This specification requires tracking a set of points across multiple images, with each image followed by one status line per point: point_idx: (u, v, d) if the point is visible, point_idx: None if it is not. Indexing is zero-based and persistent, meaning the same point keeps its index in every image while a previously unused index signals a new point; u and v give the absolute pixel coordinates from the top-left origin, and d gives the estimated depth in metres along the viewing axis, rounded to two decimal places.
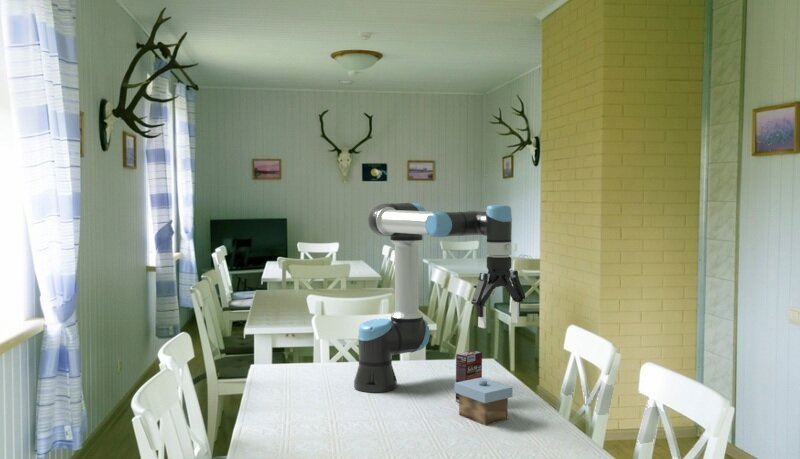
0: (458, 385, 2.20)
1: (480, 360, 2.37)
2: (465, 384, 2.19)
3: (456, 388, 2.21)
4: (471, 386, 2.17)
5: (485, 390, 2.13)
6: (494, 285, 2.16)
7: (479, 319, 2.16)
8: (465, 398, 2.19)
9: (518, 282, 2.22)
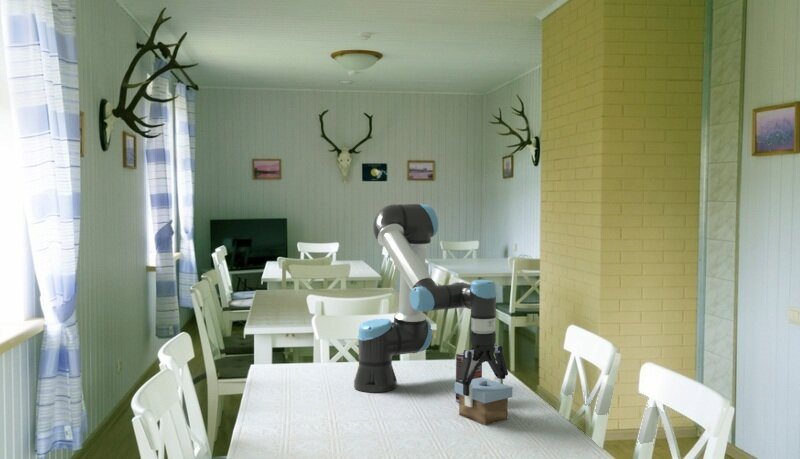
0: (458, 385, 2.20)
1: None
2: None
3: (456, 388, 2.21)
4: None
5: (485, 390, 2.13)
6: (479, 362, 2.15)
7: (466, 398, 2.16)
8: None
9: (502, 358, 2.21)
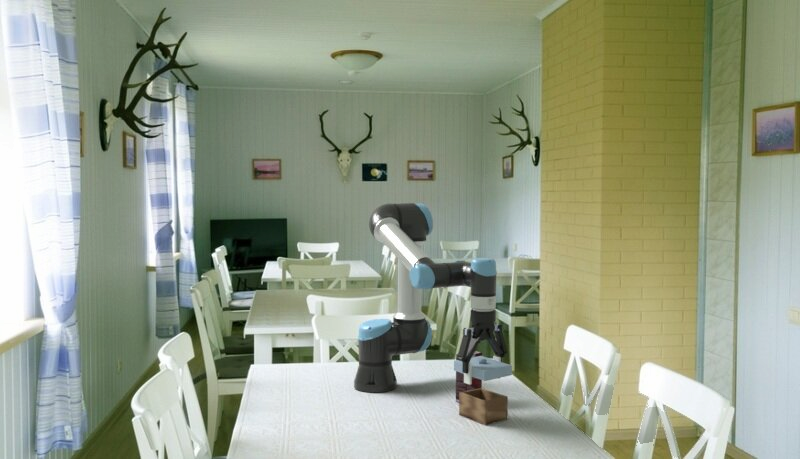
0: (457, 363, 2.20)
1: None
2: None
3: (456, 366, 2.21)
4: None
5: (484, 368, 2.13)
6: (478, 340, 2.15)
7: (465, 375, 2.16)
8: (465, 398, 2.19)
9: (501, 336, 2.21)
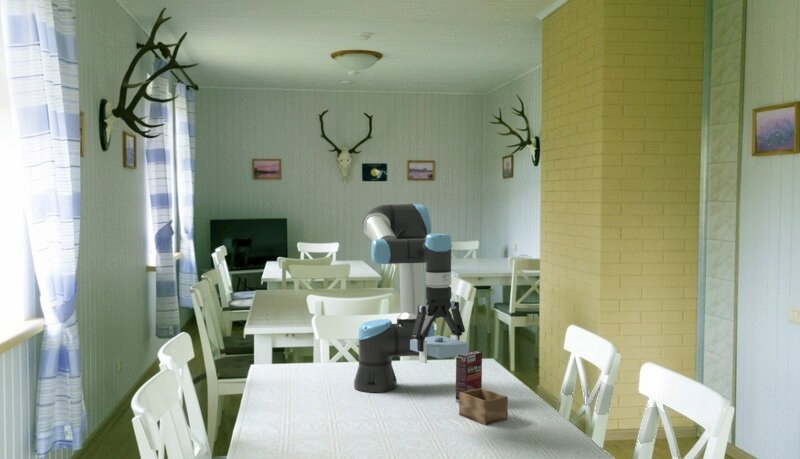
0: (413, 342, 2.14)
1: (480, 360, 2.37)
2: None
3: (412, 345, 2.15)
4: None
5: (439, 345, 2.07)
6: (433, 317, 2.10)
7: (420, 354, 2.10)
8: (465, 398, 2.19)
9: (458, 314, 2.16)
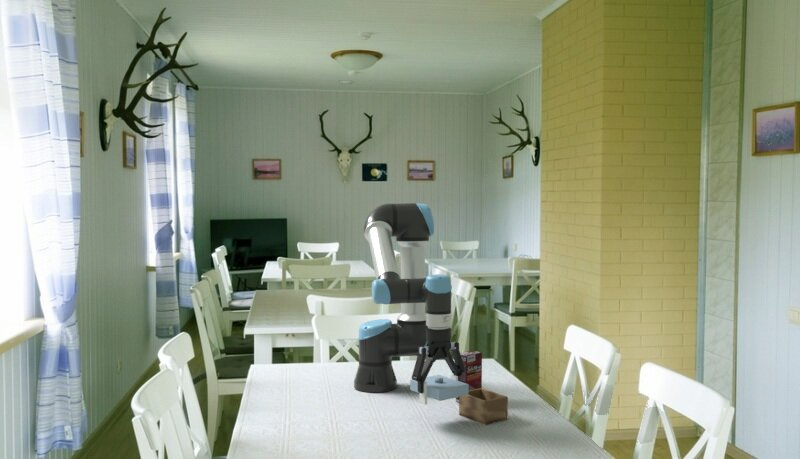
0: (413, 382, 2.15)
1: (480, 360, 2.37)
2: None
3: (412, 385, 2.16)
4: None
5: (440, 387, 2.08)
6: (434, 359, 2.10)
7: (420, 395, 2.11)
8: (465, 398, 2.19)
9: (458, 354, 2.16)
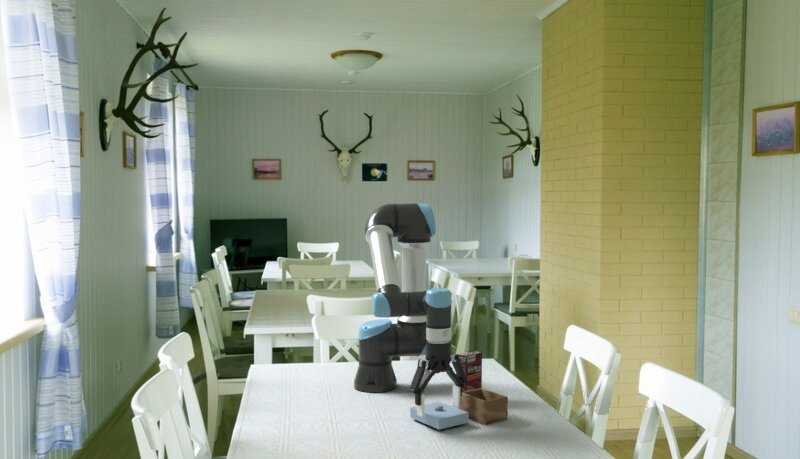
0: (413, 410, 2.15)
1: (480, 360, 2.37)
2: None
3: (412, 413, 2.16)
4: (426, 412, 2.12)
5: (439, 416, 2.09)
6: (433, 372, 2.10)
7: (418, 407, 2.11)
8: (465, 398, 2.19)
9: (459, 366, 2.17)
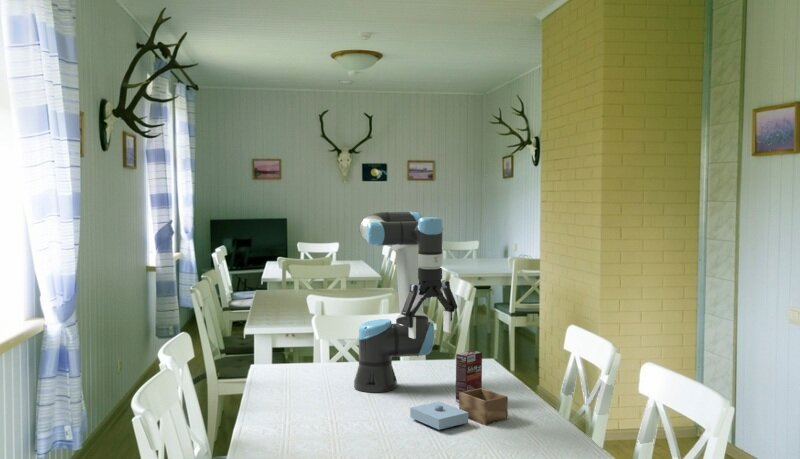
0: (413, 410, 2.15)
1: (480, 360, 2.37)
2: (420, 409, 2.15)
3: (412, 413, 2.16)
4: (426, 412, 2.12)
5: (439, 416, 2.09)
6: (424, 296, 2.20)
7: (410, 330, 2.20)
8: (465, 398, 2.19)
9: (450, 292, 2.26)
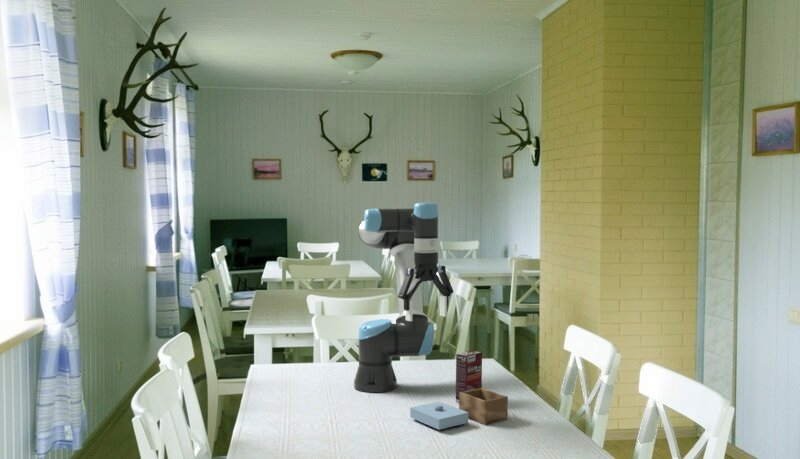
0: (413, 410, 2.15)
1: (480, 360, 2.37)
2: (420, 409, 2.15)
3: (412, 413, 2.16)
4: (426, 412, 2.12)
5: (440, 416, 2.09)
6: (420, 280, 2.24)
7: (406, 313, 2.24)
8: (465, 398, 2.19)
9: (446, 277, 2.30)
